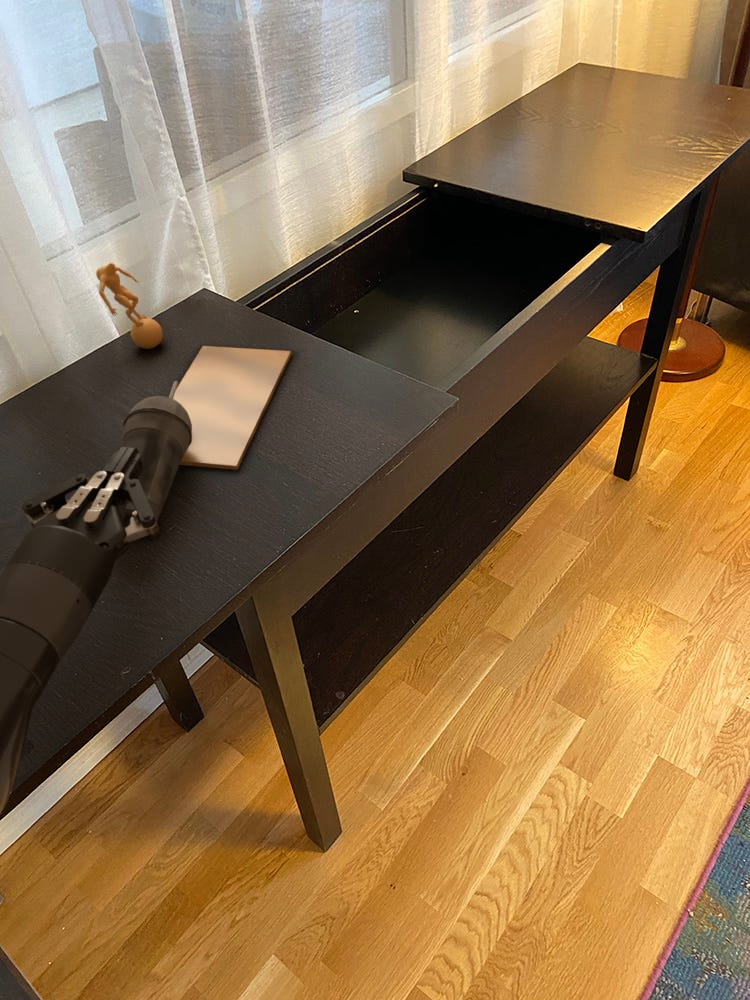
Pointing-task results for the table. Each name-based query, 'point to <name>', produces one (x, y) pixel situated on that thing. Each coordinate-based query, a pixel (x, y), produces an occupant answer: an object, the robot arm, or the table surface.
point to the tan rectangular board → (227, 401)
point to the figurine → (129, 307)
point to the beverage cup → (157, 445)
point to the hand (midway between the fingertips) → (132, 454)
